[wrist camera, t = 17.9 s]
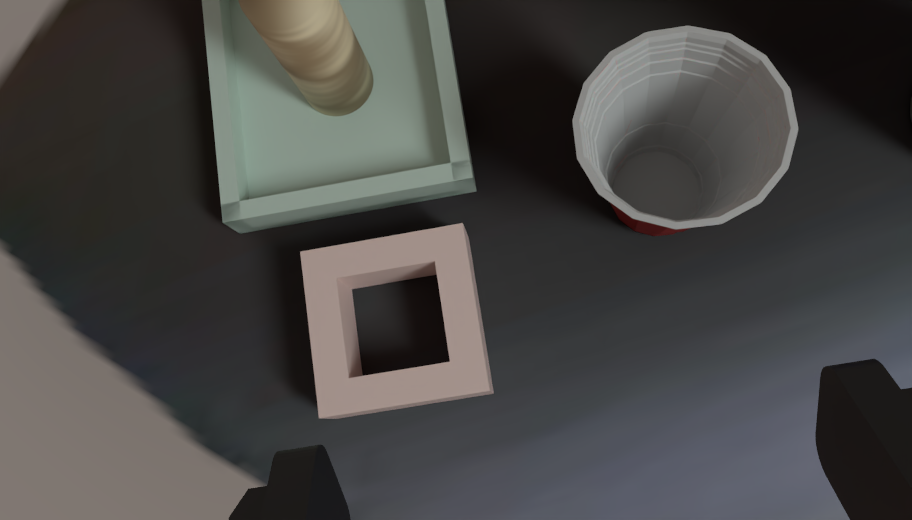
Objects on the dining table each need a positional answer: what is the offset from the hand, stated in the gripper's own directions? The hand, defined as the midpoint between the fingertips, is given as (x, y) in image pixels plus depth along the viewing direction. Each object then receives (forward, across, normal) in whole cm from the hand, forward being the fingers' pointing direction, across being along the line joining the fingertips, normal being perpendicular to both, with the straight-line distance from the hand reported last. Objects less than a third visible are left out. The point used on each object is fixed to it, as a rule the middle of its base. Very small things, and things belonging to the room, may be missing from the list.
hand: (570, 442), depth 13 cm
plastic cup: (+36, -9, +16) cm, 40 cm away
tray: (+43, +10, +8) cm, 45 cm away
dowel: (+43, +10, +8) cm, 44 cm away
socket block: (+31, +8, +20) cm, 38 cm away
